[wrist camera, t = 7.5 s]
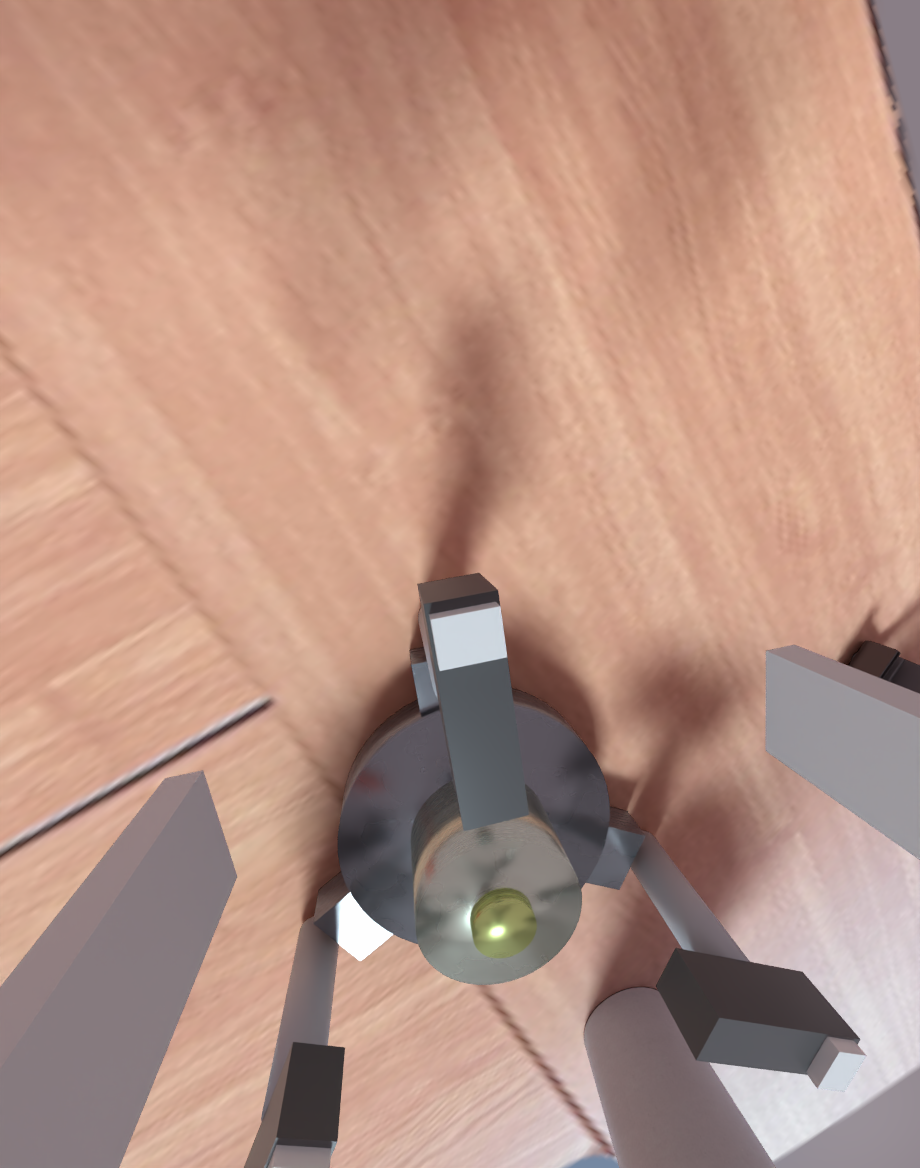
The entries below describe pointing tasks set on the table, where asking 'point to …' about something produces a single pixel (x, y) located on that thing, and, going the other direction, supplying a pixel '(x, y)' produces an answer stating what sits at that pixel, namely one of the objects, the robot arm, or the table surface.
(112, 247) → the table surface
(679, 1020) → the foot screw
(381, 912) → the levelling base
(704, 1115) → the coffee cup
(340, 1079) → the foot screw
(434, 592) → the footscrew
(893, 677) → the portable electronic device stand
